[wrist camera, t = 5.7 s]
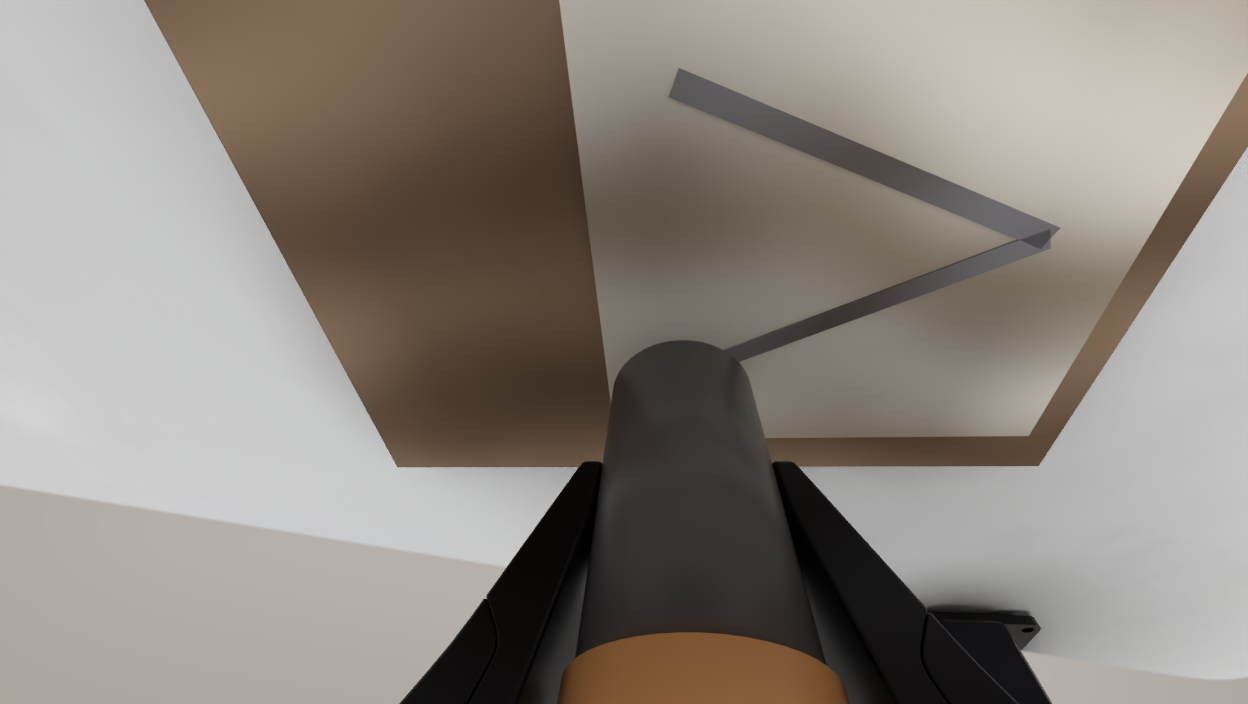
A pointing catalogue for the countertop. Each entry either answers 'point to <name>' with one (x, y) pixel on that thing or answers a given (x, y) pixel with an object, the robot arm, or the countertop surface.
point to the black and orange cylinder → (692, 550)
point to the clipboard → (724, 203)
